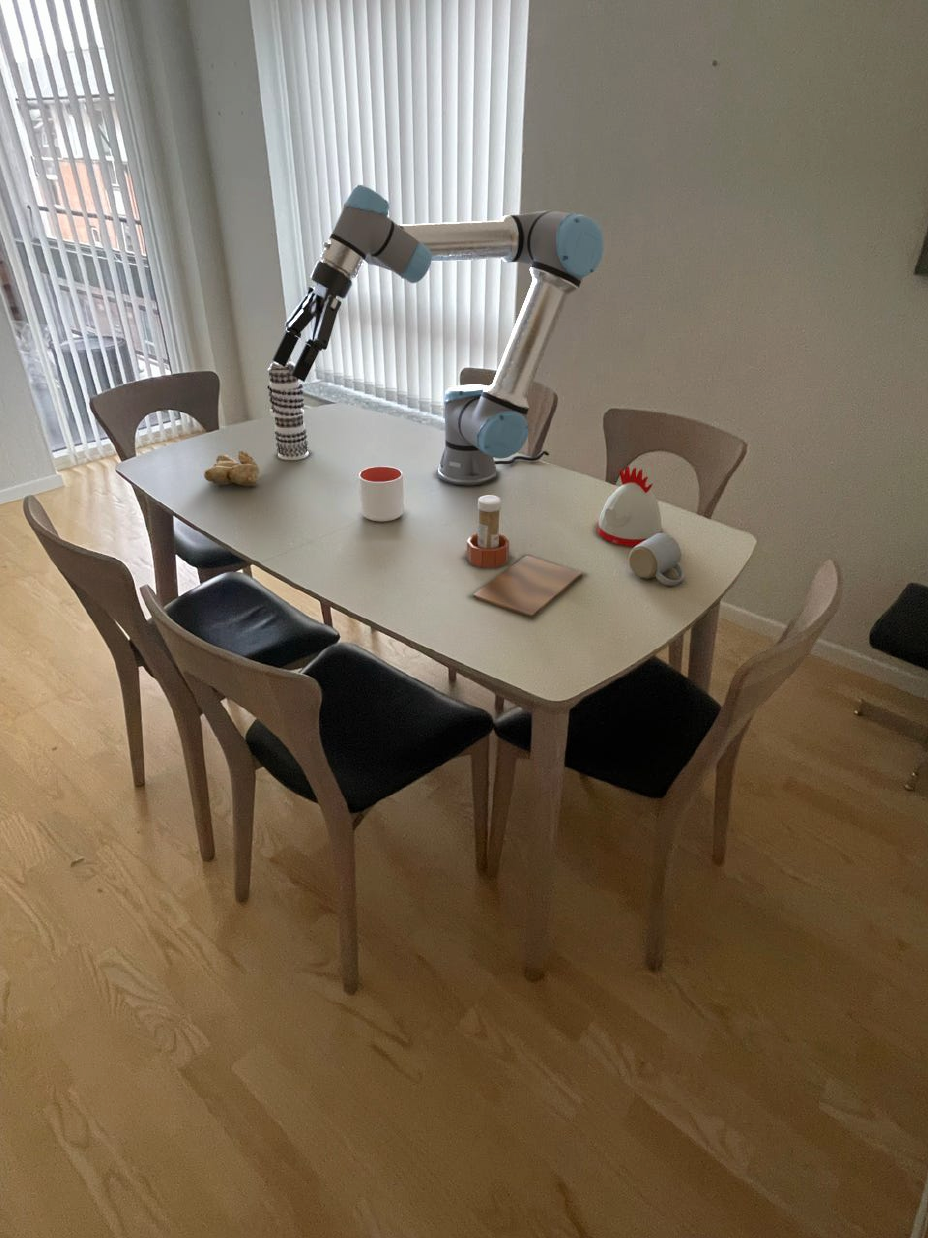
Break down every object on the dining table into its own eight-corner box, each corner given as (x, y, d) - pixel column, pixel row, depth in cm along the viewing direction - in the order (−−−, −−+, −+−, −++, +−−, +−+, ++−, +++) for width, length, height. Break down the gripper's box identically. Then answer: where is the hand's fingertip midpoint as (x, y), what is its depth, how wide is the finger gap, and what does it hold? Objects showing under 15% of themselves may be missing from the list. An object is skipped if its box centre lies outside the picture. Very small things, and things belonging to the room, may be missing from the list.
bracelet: (481, 545, 161) (481, 528, 159) (515, 556, 157) (516, 539, 154) (459, 560, 155) (459, 543, 153) (494, 571, 151) (494, 554, 149)
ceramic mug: (623, 572, 151) (628, 538, 147) (648, 559, 155) (654, 526, 151) (666, 593, 144) (673, 558, 140) (691, 579, 149) (698, 545, 145)
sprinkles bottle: (500, 562, 154) (503, 502, 147) (479, 564, 153) (481, 504, 146) (495, 552, 158) (497, 493, 151) (474, 554, 157) (475, 495, 150)
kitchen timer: (621, 514, 175) (629, 452, 167) (672, 532, 167) (683, 469, 159) (585, 531, 167) (591, 468, 159) (636, 552, 158) (646, 486, 150)
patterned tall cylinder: (306, 460, 203) (296, 367, 190) (273, 460, 203) (260, 366, 190) (313, 449, 211) (303, 358, 197) (280, 449, 211) (268, 358, 197)
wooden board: (526, 557, 156) (526, 555, 156) (581, 575, 150) (582, 572, 150) (473, 597, 142) (473, 594, 142) (531, 618, 136) (531, 615, 136)
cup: (397, 525, 169) (395, 484, 163) (355, 521, 170) (352, 480, 165) (409, 507, 177) (407, 468, 172) (369, 504, 179) (366, 464, 173)
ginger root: (246, 493, 180) (235, 461, 177) (195, 499, 186) (184, 468, 183) (280, 473, 193) (271, 443, 189) (232, 479, 199) (221, 450, 195)
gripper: (300, 252, 150) (255, 348, 155) (341, 266, 131) (288, 375, 136) (332, 273, 155) (287, 366, 159) (376, 289, 136) (323, 394, 141)
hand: (287, 370), depth 148 cm, fingers open, 13 cm apart
